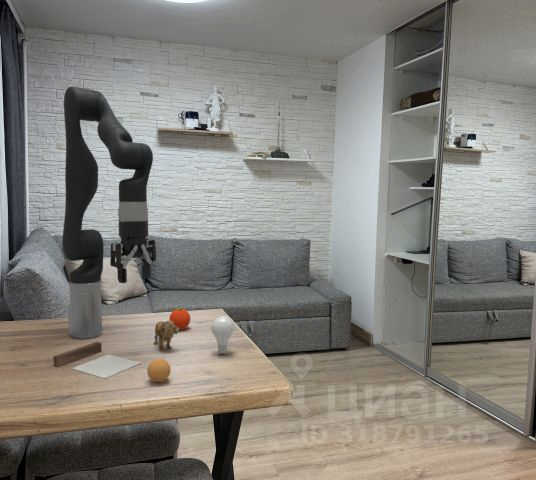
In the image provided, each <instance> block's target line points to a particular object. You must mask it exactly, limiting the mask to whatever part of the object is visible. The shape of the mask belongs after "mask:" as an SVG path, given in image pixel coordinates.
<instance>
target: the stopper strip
mask: <svg viewBox="0 0 536 480" xmlns="http://www.w3.org/2000/svg"><path fill="white" fill-rule="evenodd" d="M101 352H102V342H98V341H95V342H91V343H89V344H86V345H83V346H80V347H76V348H74V349H70V350H68V351H64V352H62V353H58V354H56V355H53V366H54V367H56V368H57V367H58V368H59V367H63V366H66V365H68V364H70V363H73V362H76V361H79V360H81V359H85V358H87V357H90V356H93V355H96V354H98V353H101Z"/></svg>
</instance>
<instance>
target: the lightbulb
mask: <svg viewBox="0 0 536 480" xmlns="http://www.w3.org/2000/svg"><path fill="white" fill-rule="evenodd" d="M234 330H235V325H234V321H233V320H232V319H231V318H230V317H229V316H225V315H221V316H218V317H215V319H213V321H212V323H211V332H212V334H213V335H214V337H215V339H216V343H217V353H218V354H219V355H225V354H226V353H228V344H229V340H230V338H231V336H232V335H233V333H234Z"/></svg>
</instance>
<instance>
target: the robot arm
mask: <svg viewBox="0 0 536 480" xmlns="http://www.w3.org/2000/svg"><path fill="white" fill-rule="evenodd" d="M63 115H64V116H63V117H64V129H65V130H64V131H65V168H64V169H65V170H64V171H65V172H64V173H65V174H64V176H65V177H64V178H65V180H64V181H65V208H64V209H65V210H64V220H63V228H62V229H63V230H62V240H61V241H62V252H63V255H64V257H65V258H66V259H67V260H68V261H70V262H74V261H75V262H77V261H82V262H81V264H80V265H79V266H78V267H77V268H75V269H73V270H72V271H71V272H70V273H69V275H68V276H69V277H68V280H69V281H68V282H69V285H68V286H69V304H68V305H67V306H68V307H67V309H68V310H67V311H68V312H67V315H68V320H67V321H68V335H70V336H71V338H73V339H78V340H79V339H80V340H81V339H83V340H84V339H85V340H86V339H93V338H97V337H99V336H101V335H102V333H103V323H102V319H103V315H102V314H103V313H102V309H103V308H102V274H103V271H104V270H103V269H104V251H105V250H104V249H105V248H104V247H105V246H104V239H103V236H102V234H101V232H100V231H99V230H96V229H95V228H94V229H93V228H91V229H82V228H83V219H84V215H85V213H86V210H87V209H88V206H89V205H90V203H91V202H92V201H93V198H94V197H95V195H96V194H97V191H98V188H99V166H98V162H97V159H96V158H95V156H94V155H93V153H92V151H91V150H90V148H89V146H88V145H87V143H86V141H85V139H84V135H83V132H82V127H81V121H85V122H97V123H98V124H97V127H96V128H97V130H96V131H97V135H98V138H99V139H100V141H101V142H102V143H103V144H104V146H105V147H106V148H107V150H108V153H109V158H110V161H111V163H112V165H113V166H114V167H116V168H117V169H120V170H131V171H132V170H133V171H134V173H133V175H132V177H129V178H124V179H121V180H120V181H119V183H118V210H117V213H118V215H117V216H118V217H117V218H118V219H117V220H118V237H119V238H120V242H112V243H111V244H110V262H109V263H110V264H109V265H110V266H111V267H114V268H116V269H117V272H116V273H117V281H118V283H120V284H126V283H128V279H127V277H128V274H127V273H128V272H127V266H128V264H129V263H130V262H131V261H132V259H136V258H138V259H139V261H141V277H142V278H143V279H150V277H151V264H152V263H153V262H156V260H157V248H156V240H155V239H147V237H149V208H148V199H147V196H148V195H147V194H148V193H147V192H148V191H147V189H148V188H147V187H148V182H149V179H150V172H151V170H152V167H153V161H154V155H153V151H152V148H151V147H150V146H149V145H148V144H146V143H143V142H134V141H133V140H134V139H133V137H132V135H131V133H129V131H128V130H127V129H126V128H125V127H124V126H123V125H122V124H121V123H120V122H119V120H118V119H117V117H116V116H115V113H114V111H113V109H112V107H111V105H110V103H109V102H108V100H107V99H106V97H105V95H104V94H103V93H102V92H100V91H99V90H98V91H97V90H95V89H90V88H85V87H79V86H78V87H77V86H68V87H67V89H66V90H65V92H64V96H63Z"/></svg>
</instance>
